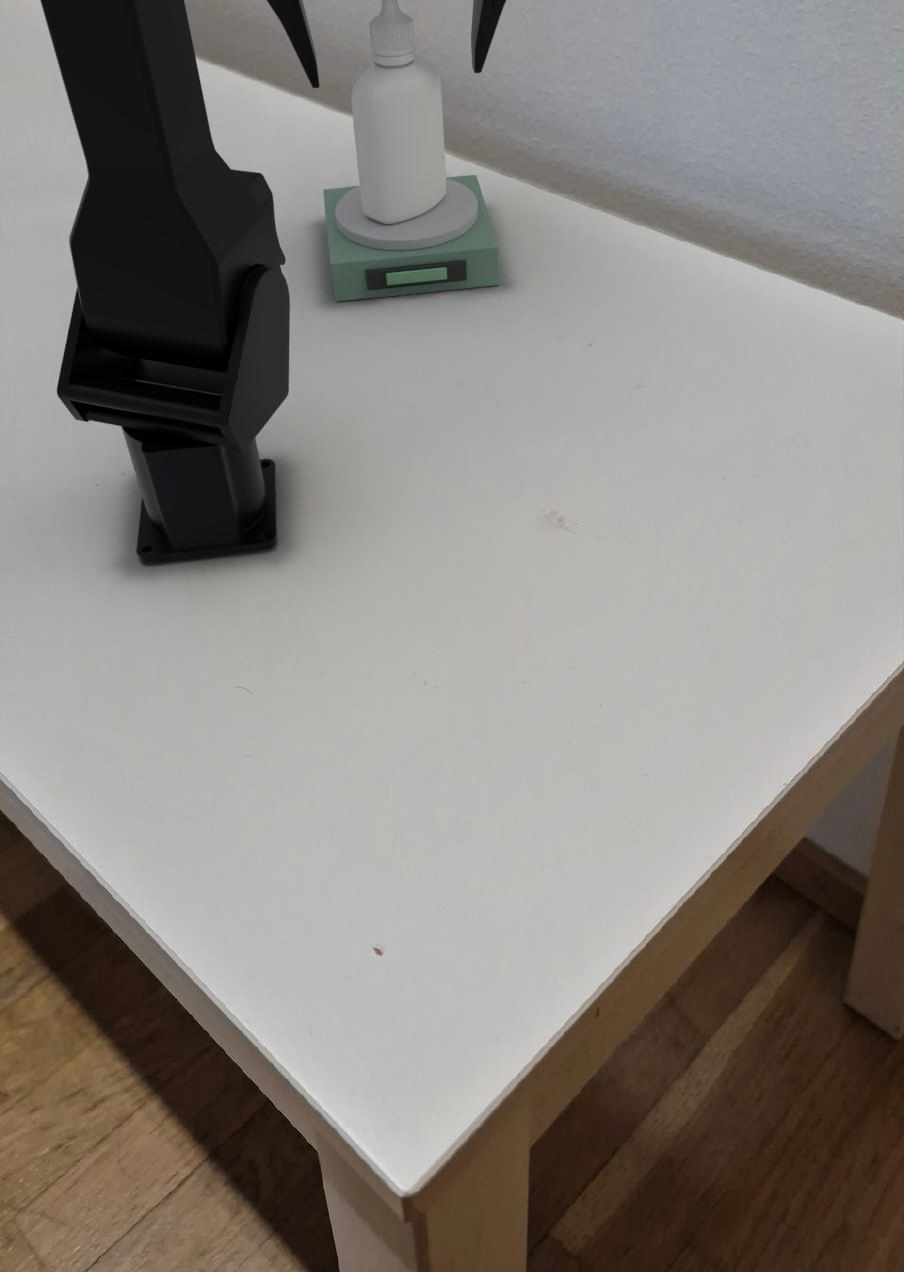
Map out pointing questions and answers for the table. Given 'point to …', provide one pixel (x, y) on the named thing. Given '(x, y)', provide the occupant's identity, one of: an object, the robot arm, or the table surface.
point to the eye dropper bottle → (398, 124)
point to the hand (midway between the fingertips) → (396, 78)
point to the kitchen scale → (411, 245)
